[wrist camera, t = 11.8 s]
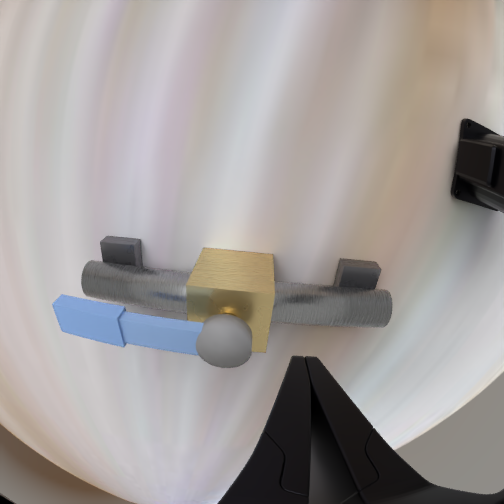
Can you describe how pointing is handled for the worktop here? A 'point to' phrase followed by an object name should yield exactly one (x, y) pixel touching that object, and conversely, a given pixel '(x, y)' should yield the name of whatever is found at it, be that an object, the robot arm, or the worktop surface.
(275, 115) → the worktop surface
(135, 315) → the valve lever
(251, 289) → the pipe run
